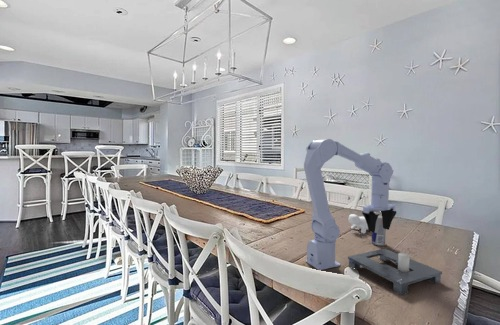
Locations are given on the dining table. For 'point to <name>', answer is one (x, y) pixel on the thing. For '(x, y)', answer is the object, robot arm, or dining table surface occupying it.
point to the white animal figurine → (358, 222)
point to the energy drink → (379, 233)
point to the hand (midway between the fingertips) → (378, 230)
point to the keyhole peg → (403, 262)
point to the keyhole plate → (392, 274)
